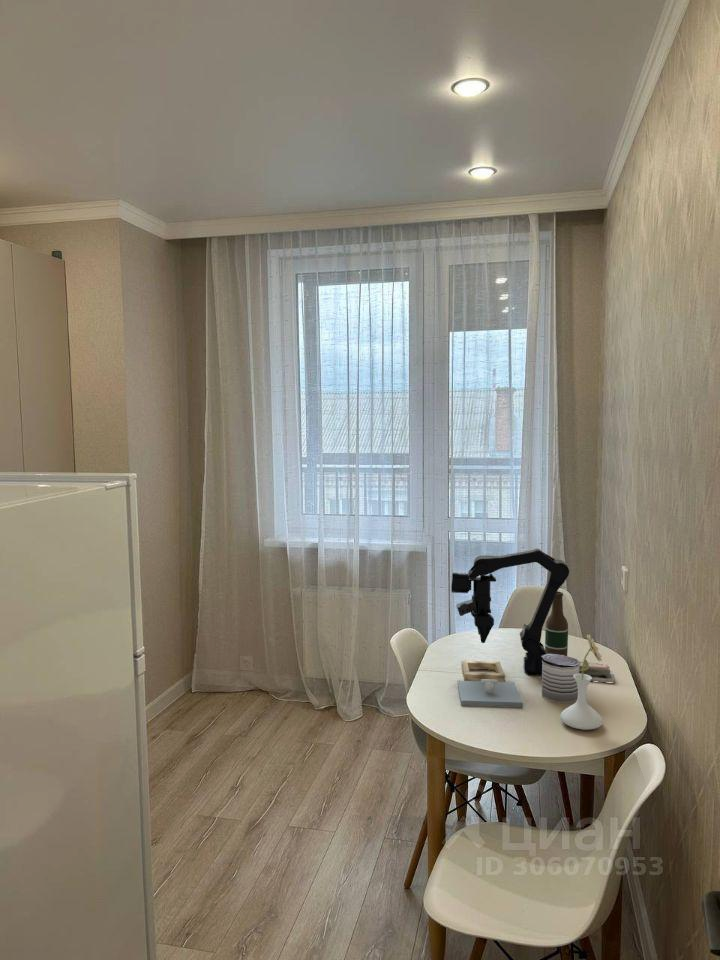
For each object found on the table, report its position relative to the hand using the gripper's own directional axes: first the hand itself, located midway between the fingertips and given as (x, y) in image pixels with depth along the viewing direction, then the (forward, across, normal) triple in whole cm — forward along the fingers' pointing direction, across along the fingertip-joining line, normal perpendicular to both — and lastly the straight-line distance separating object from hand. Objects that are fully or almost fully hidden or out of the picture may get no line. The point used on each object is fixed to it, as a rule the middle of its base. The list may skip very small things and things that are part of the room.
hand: (481, 638), depth 237 cm
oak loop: (+11, +6, 0) cm, 12 cm away
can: (+11, +22, +22) cm, 33 cm away
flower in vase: (+11, +42, +24) cm, 49 cm away
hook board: (+11, +24, 0) cm, 27 cm away
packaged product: (+12, +4, +34) cm, 36 cm away
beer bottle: (+11, -13, +28) cm, 33 cm away
